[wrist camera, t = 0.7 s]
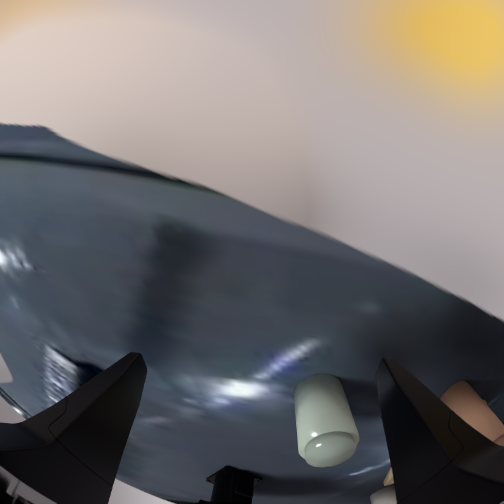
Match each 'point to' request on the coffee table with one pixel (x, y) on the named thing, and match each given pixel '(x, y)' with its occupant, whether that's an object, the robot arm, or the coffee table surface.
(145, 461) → the coffee table surface
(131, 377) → the robot arm
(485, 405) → the terracotta jar
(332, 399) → the sage jar
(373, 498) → the cream jar
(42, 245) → the coffee table surface
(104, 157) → the coffee table surface
